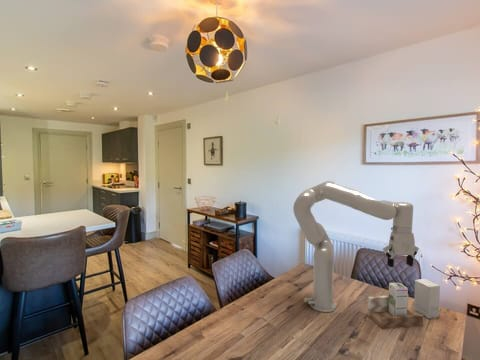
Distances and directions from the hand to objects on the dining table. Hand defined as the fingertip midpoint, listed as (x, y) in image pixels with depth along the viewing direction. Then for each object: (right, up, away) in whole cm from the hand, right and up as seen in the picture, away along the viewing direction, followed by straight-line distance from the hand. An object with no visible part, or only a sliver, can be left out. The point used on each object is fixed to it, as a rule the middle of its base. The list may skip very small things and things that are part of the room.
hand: (399, 265), depth 121 cm
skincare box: (+17, -26, +7) cm, 31 cm away
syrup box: (0, -24, +2) cm, 24 cm away
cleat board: (-2, -26, +1) cm, 26 cm away
